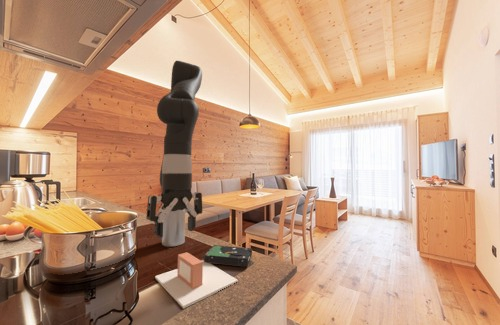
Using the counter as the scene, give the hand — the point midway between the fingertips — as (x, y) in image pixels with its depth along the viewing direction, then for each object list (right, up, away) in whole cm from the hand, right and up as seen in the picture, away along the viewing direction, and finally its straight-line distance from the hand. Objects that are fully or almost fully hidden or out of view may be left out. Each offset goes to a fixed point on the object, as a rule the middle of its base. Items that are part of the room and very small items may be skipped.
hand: (176, 233), depth 53 cm
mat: (+4, -15, +4) cm, 16 cm away
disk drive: (+12, -15, +17) cm, 26 cm away
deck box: (+3, -14, +3) cm, 14 cm away
